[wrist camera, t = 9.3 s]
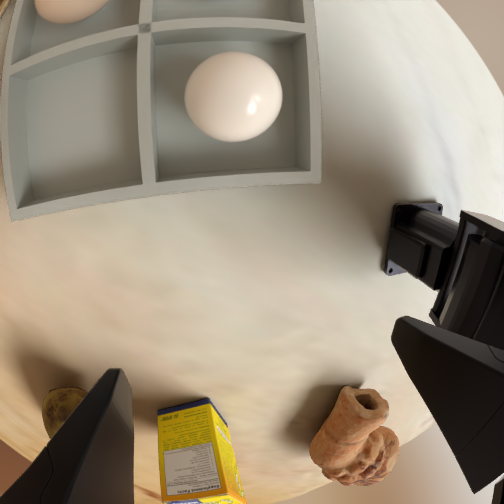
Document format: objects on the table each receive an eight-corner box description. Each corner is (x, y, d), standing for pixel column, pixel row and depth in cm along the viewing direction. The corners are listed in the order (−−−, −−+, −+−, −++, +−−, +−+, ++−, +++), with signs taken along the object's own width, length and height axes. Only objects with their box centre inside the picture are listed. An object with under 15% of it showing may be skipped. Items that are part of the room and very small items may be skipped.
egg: (266, 65, 14) (294, 41, 10) (268, 140, 16) (298, 141, 12) (184, 67, 14) (182, 39, 9) (186, 145, 16) (185, 146, 11)
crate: (288, -49, 11) (302, -67, 8) (301, 176, 18) (321, 183, 16) (42, -19, 7) (28, -33, 5) (32, 209, 15) (11, 222, 12)
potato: (29, 397, 21) (12, 450, 13) (73, 349, 20) (49, 420, 12) (85, 433, 24) (78, 485, 17) (143, 397, 23) (141, 466, 16)
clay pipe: (283, 438, 38) (360, 447, 38) (280, 493, 28) (368, 494, 28) (338, 360, 31) (424, 376, 32) (352, 428, 21) (450, 429, 21)
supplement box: (181, 435, 27) (190, 516, 17) (156, 409, 24) (159, 503, 14) (228, 423, 27) (249, 507, 17) (209, 396, 25) (228, 495, 15)
